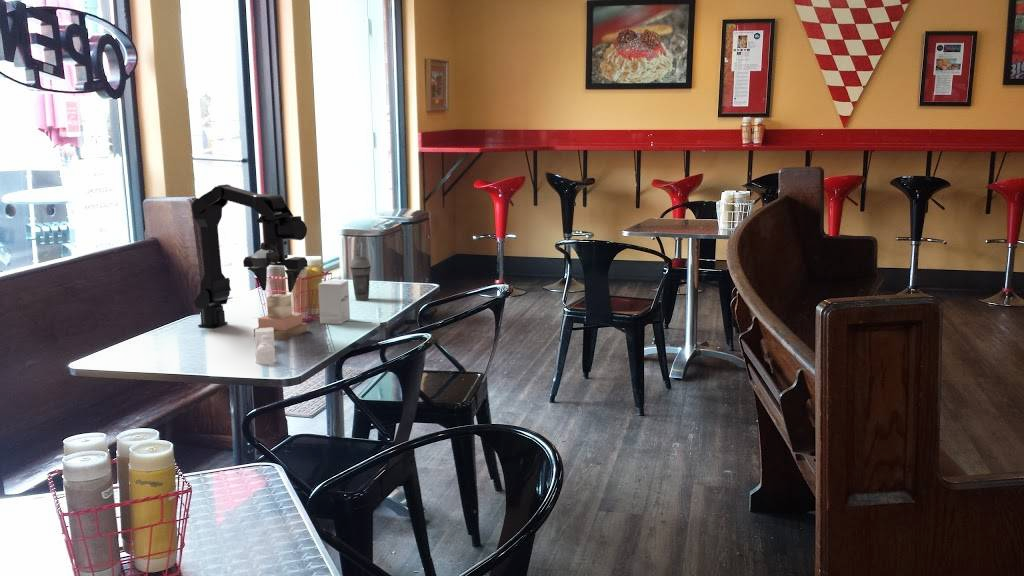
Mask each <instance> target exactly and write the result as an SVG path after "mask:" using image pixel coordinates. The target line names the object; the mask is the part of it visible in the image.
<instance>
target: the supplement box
mask: <svg viewBox="0 0 1024 576" xmlns="http://www.w3.org/2000/svg"><path fill="white" fill-rule="evenodd" d="M317 288H318V306H319V307H318V308H319V309H318V310H319V324H328V325H330V324H331V325H343V323H345V322H347V321H349V320H350V319H351V313H350V312H351V311H350V291H349V290H350V289H349V280H345V279H343V280H341V279H339V280H338V279H335V280H334V279H330V280H329V279H327V280H324V281H323V282H320V283H318V284H317Z"/></svg>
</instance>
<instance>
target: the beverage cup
mask: <svg viewBox="0 0 1024 576" xmlns="http://www.w3.org/2000/svg"><path fill="white" fill-rule="evenodd" d="M363 244H364V243H362V242H360V255H356V256H354V257H353V258H352V260H351V261H350V267H349V268H350V272H351V278H352V284H353V290H354V291H353V292H354V298H355V301H357V302H363V301H369V299H370V298H369V295H370V277H371V276H370V275H371V274H370V273H371V267H372V265H371V262H370V259H369V258H367V256H364V255H363Z"/></svg>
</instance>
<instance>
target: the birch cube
mask: <svg viewBox="0 0 1024 576" xmlns="http://www.w3.org/2000/svg"><path fill="white" fill-rule="evenodd" d="M292 305H293V303H292V295H291V294H280V293H276V294H272V295H269V296H266V309H267V315H268V317H270V318H285V317H288V316H290V315H292V313H293V306H292Z"/></svg>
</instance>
